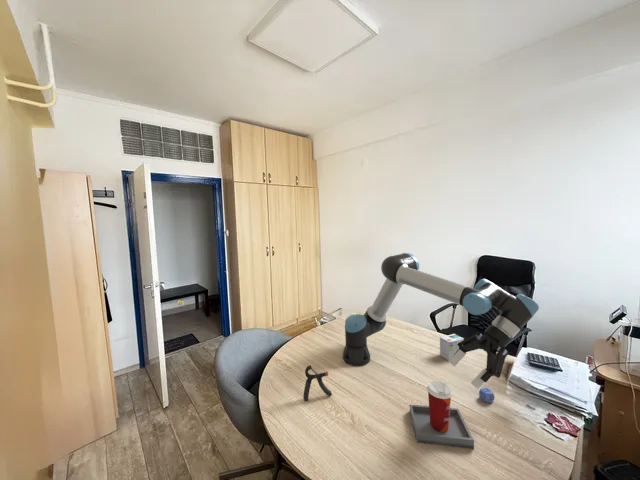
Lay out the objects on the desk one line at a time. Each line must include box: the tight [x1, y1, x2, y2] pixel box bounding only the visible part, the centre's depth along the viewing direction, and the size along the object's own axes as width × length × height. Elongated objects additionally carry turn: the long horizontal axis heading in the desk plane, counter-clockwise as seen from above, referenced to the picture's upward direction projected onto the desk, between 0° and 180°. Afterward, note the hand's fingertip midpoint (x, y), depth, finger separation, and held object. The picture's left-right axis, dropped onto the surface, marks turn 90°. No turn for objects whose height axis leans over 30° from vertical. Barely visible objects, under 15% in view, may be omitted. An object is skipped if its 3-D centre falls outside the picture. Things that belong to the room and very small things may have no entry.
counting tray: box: [409, 404, 475, 450], centre depth 92 cm, size 18×14×3 cm
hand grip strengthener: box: [303, 365, 333, 402], centre depth 109 cm, size 2×12×15 cm, turn 99°
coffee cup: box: [426, 380, 453, 433], centre depth 91 cm, size 8×8×15 cm
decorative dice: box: [478, 386, 495, 404], centre depth 105 cm, size 4×4×4 cm
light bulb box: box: [439, 333, 465, 362], centre depth 138 cm, size 11×7×11 cm, turn 109°
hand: (462, 374), depth 92 cm, fingers open, 13 cm apart
